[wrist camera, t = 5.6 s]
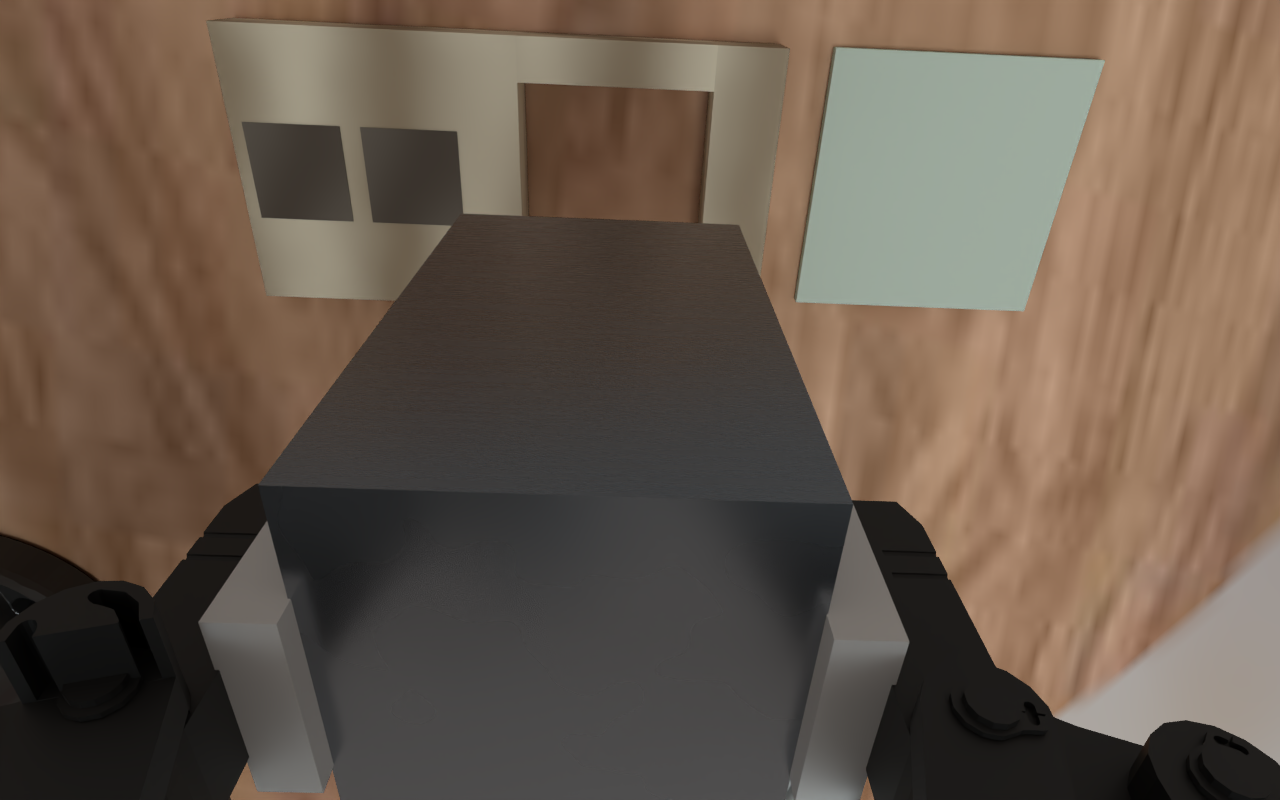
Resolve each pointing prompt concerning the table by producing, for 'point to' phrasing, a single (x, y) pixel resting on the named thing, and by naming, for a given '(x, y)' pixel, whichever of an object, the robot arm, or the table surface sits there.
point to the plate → (449, 135)
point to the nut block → (564, 524)
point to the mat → (939, 176)
